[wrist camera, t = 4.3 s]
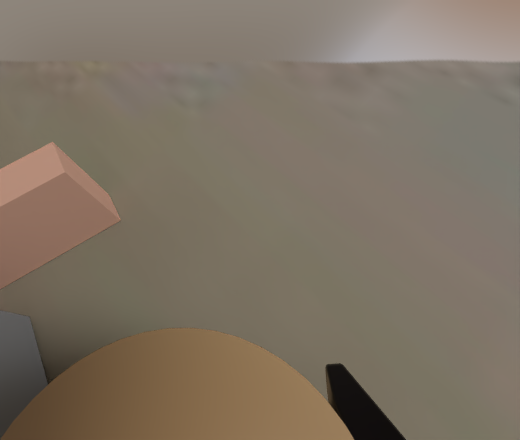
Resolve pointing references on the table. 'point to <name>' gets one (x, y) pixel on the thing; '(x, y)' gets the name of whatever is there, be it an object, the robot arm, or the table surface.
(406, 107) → the table surface
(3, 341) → the socket block
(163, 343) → the oak dowel
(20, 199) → the backstop wall
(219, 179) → the table surface
